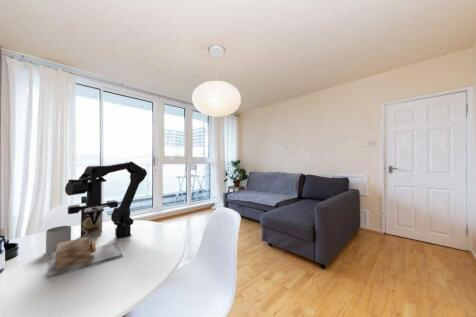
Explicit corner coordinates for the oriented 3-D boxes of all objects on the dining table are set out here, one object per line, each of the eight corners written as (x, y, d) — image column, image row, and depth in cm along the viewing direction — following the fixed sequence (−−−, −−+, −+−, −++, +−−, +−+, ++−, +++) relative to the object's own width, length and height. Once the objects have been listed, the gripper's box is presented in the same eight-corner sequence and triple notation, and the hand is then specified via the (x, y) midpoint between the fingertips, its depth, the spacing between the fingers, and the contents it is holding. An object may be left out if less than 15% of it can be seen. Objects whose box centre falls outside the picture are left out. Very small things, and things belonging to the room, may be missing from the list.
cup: (55, 255, 82) (55, 232, 82) (40, 254, 84) (41, 231, 84) (75, 247, 91) (75, 226, 91) (61, 245, 92) (62, 225, 92)
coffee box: (80, 238, 101) (80, 208, 101) (82, 234, 106) (83, 205, 106) (101, 235, 105) (101, 206, 105) (102, 231, 111) (103, 204, 111)
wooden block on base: (116, 244, 94) (116, 229, 94) (122, 256, 82) (122, 239, 82) (50, 260, 78) (51, 242, 79) (47, 278, 66) (47, 256, 67)
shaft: (94, 249, 84) (94, 238, 84) (95, 253, 80) (95, 242, 80) (51, 260, 75) (51, 248, 75) (50, 265, 71) (50, 252, 71)
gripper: (113, 188, 103) (113, 216, 103) (67, 192, 90) (67, 225, 90) (118, 190, 95) (118, 221, 95) (68, 195, 82) (68, 231, 82)
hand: (94, 224), depth 90 cm, fingers closed
